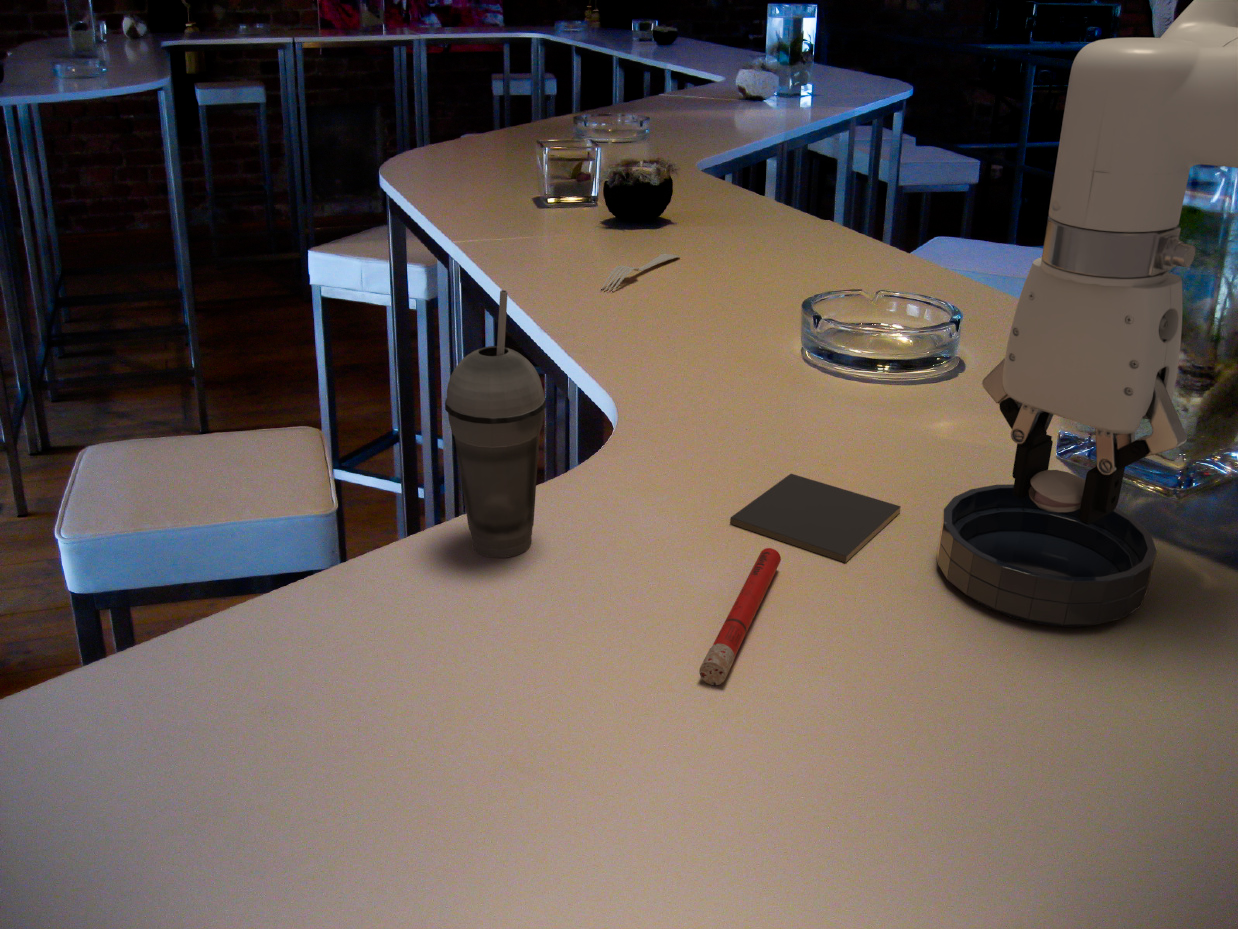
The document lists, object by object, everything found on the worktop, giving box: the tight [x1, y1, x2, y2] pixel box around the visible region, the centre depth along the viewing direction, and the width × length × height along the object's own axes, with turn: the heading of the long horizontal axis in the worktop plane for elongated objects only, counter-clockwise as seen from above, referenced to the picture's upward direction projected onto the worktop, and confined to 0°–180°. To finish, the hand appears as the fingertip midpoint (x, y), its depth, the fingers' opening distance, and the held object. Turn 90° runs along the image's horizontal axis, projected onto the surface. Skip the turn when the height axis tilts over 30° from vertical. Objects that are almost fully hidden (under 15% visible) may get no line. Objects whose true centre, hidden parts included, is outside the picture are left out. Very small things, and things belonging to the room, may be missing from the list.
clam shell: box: [1029, 469, 1086, 513], centre depth 76 cm, size 4×5×2 cm
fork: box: [600, 253, 681, 292], centre depth 151 cm, size 3×21×3 cm, turn 152°
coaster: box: [729, 473, 901, 564], centre depth 87 cm, size 10×10×1 cm
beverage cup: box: [444, 289, 547, 559], centre depth 78 cm, size 7×7×20 cm
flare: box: [698, 547, 782, 686], centre depth 73 cm, size 2×15×2 cm, turn 159°
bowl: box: [936, 483, 1158, 628], centre depth 78 cm, size 14×14×4 cm
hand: (1061, 502), depth 76 cm, fingers closed on clam shell, 4 cm apart
